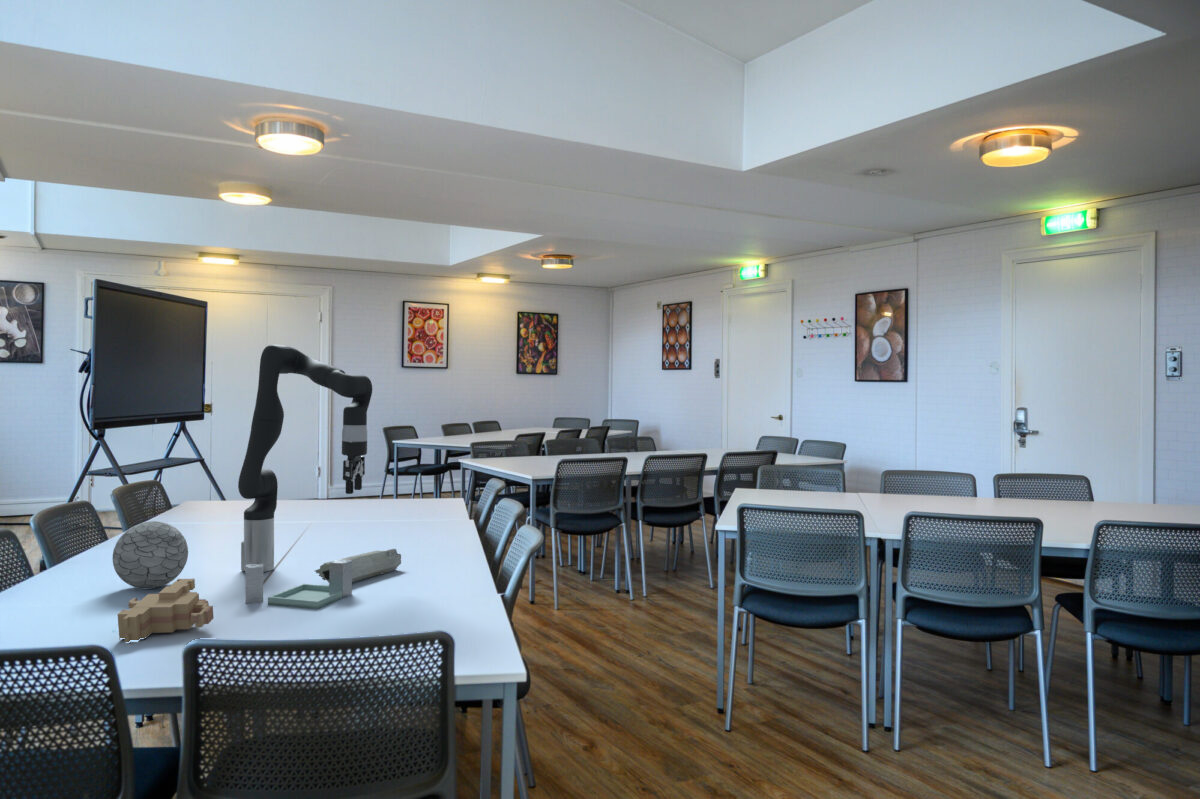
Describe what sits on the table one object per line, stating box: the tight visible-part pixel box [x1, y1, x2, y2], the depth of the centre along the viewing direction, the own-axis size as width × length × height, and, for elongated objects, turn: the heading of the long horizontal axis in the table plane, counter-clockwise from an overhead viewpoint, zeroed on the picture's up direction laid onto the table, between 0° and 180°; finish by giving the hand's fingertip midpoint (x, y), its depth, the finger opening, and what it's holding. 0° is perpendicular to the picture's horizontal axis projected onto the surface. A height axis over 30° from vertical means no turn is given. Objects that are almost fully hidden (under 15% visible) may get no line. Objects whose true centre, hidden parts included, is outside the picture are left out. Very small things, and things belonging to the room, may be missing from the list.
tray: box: [267, 583, 343, 610], centre depth 228 cm, size 16×16×2 cm
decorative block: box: [314, 548, 402, 583], centre depth 253 cm, size 8×30×8 cm, turn 153°
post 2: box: [328, 558, 353, 599], centre depth 233 cm, size 4×4×10 cm
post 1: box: [244, 564, 264, 604], centre depth 226 cm, size 4×4×10 cm
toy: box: [116, 578, 215, 643], centre depth 198 cm, size 10×20×20 cm
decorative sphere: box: [112, 520, 189, 589], centre depth 239 cm, size 20×20×20 cm
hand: (353, 491), depth 247 cm, fingers open, 8 cm apart
